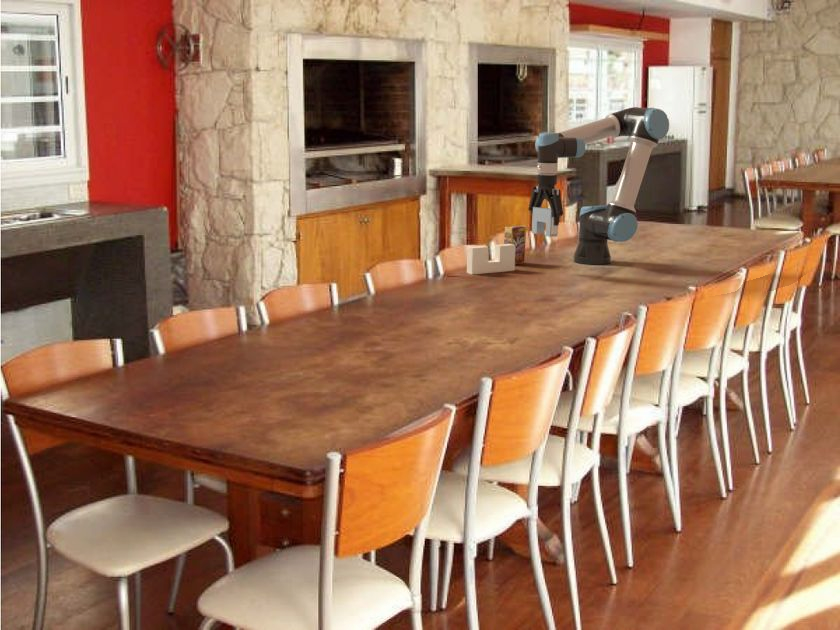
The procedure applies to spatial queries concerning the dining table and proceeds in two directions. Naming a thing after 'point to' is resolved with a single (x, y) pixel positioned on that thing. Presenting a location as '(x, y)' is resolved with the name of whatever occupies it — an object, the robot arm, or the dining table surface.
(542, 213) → the light blue arch block
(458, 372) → the dining table surface
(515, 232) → the candy box
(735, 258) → the dining table surface
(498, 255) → the slotted stand
